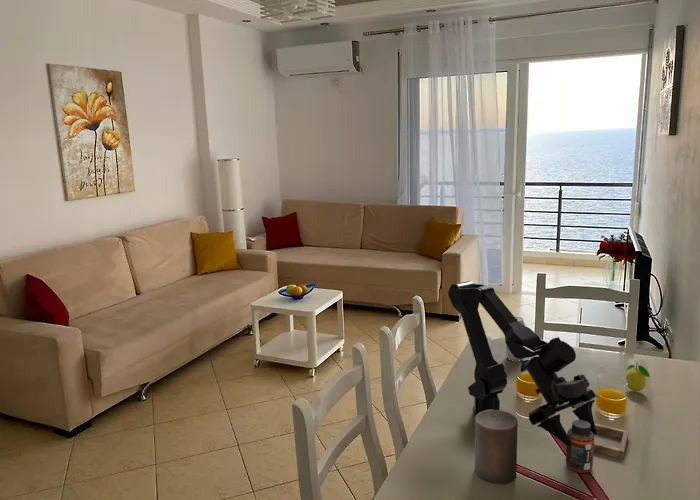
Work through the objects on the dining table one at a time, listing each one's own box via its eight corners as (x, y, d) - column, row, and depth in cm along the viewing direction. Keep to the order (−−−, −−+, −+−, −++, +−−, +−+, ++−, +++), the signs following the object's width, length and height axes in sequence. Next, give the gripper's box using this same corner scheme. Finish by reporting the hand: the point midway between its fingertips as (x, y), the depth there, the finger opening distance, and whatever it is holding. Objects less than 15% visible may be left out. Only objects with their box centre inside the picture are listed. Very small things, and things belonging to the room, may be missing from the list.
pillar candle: (524, 479, 125) (526, 419, 122) (487, 488, 122) (488, 427, 120) (501, 457, 134) (503, 401, 131) (466, 464, 132) (467, 407, 129)
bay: (581, 448, 137) (581, 441, 136) (588, 428, 146) (589, 422, 145) (623, 459, 132) (623, 451, 131) (627, 438, 141) (628, 431, 140)
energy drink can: (520, 363, 189) (522, 322, 186) (504, 360, 193) (505, 320, 190) (525, 357, 194) (527, 317, 191) (509, 354, 197) (510, 315, 194)
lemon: (648, 398, 162) (650, 366, 160) (626, 395, 164) (628, 364, 162) (644, 388, 168) (646, 358, 166) (623, 386, 170) (625, 356, 168)
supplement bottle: (595, 475, 126) (598, 431, 124) (568, 473, 127) (570, 429, 125) (589, 460, 132) (592, 418, 129) (563, 458, 133) (565, 416, 131)
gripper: (540, 375, 124) (579, 440, 117) (591, 357, 133) (631, 416, 126) (513, 394, 132) (548, 456, 125) (563, 376, 141) (599, 432, 134)
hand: (583, 439), depth 127 cm, fingers open, 9 cm apart
